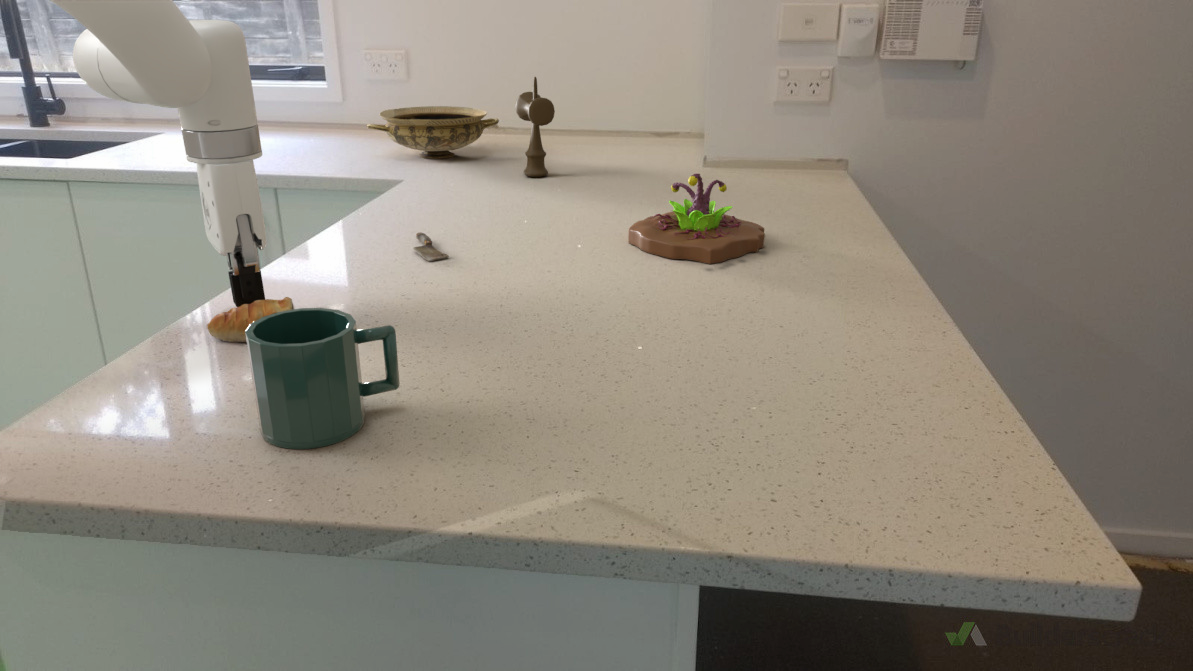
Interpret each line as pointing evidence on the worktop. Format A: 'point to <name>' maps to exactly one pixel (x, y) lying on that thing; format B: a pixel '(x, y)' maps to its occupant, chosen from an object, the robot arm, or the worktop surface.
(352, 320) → the mug
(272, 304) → the pastry
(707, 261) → the plant
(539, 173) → the kendama
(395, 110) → the ceramic bowl
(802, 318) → the worktop surface
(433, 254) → the meat cleaver
